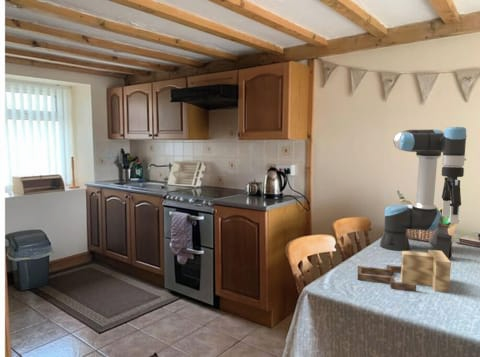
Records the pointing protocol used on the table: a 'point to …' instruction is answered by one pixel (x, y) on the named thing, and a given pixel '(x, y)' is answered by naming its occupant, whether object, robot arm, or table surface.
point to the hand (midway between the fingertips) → (449, 219)
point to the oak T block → (426, 269)
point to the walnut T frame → (384, 277)
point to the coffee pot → (441, 230)
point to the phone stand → (444, 244)
